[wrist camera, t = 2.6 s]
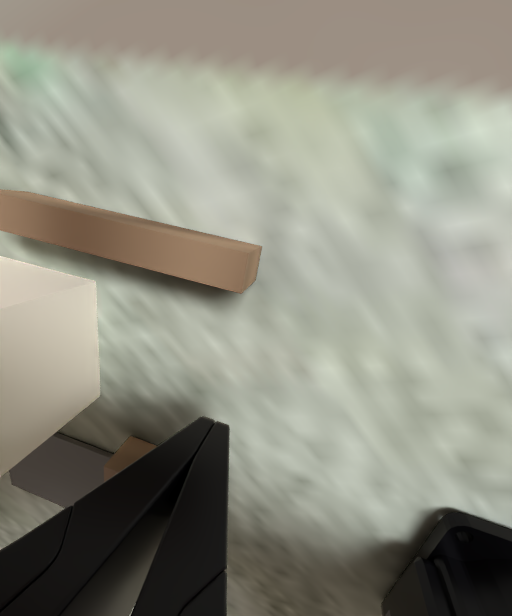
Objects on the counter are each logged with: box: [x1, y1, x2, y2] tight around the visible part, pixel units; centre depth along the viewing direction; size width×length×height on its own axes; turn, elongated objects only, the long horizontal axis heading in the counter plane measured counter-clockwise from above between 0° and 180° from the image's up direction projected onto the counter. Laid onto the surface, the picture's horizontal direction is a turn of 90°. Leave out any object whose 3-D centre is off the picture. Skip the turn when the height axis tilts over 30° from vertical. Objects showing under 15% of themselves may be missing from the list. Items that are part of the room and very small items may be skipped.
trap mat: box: [9, 432, 114, 508], centre depth 13 cm, size 7×5×1 cm
